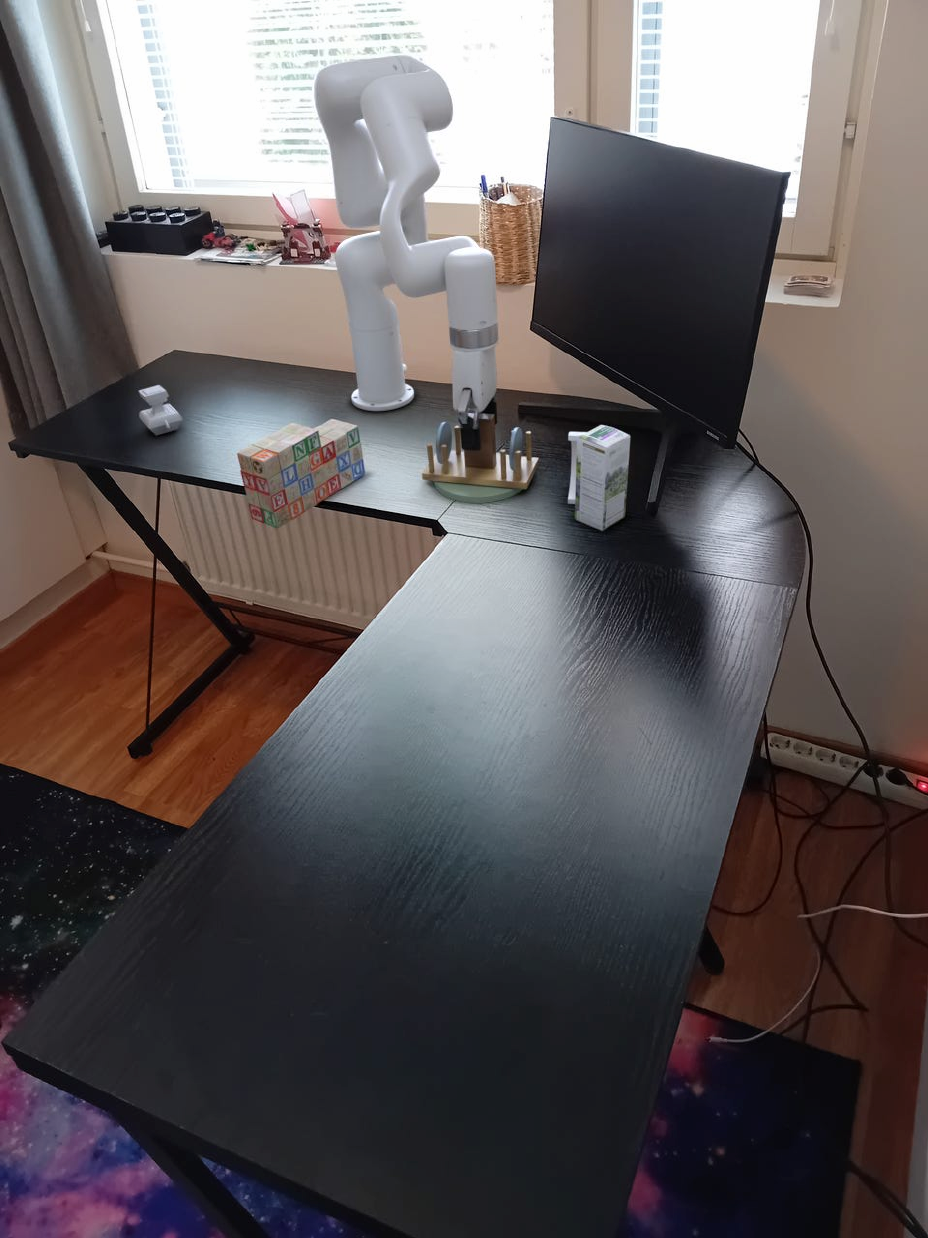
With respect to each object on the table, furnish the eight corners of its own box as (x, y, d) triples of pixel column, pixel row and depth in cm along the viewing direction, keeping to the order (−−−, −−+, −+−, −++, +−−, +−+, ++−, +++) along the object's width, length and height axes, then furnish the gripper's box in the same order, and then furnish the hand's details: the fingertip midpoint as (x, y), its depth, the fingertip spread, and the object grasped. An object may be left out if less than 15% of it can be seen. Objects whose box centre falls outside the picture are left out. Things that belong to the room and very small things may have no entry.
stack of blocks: (340, 466, 167) (329, 401, 160) (366, 474, 164) (357, 408, 157) (250, 519, 154) (235, 451, 147) (277, 529, 151) (262, 460, 143)
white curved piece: (567, 503, 152) (568, 435, 145) (571, 485, 157) (572, 418, 149) (596, 505, 151) (598, 436, 144) (599, 486, 156) (601, 419, 149)
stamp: (187, 433, 182) (177, 392, 177) (154, 442, 180) (142, 401, 175) (173, 417, 188) (162, 377, 183) (140, 427, 186) (129, 386, 181)
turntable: (450, 454, 168) (450, 448, 168) (538, 461, 164) (538, 455, 163) (422, 498, 156) (421, 491, 155) (515, 507, 152) (515, 500, 151)
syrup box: (597, 505, 151) (599, 422, 142) (626, 518, 147) (631, 433, 139) (574, 520, 148) (575, 435, 139) (603, 532, 144) (606, 446, 135)
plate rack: (422, 479, 158) (416, 423, 152) (438, 455, 165) (434, 400, 159) (526, 489, 153) (525, 431, 147) (539, 463, 160) (538, 408, 154)
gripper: (466, 314, 153) (473, 413, 163) (433, 353, 139) (442, 458, 149) (511, 316, 151) (515, 416, 161) (481, 355, 137) (487, 461, 147)
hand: (479, 436), depth 155 cm, fingers open, 9 cm apart
